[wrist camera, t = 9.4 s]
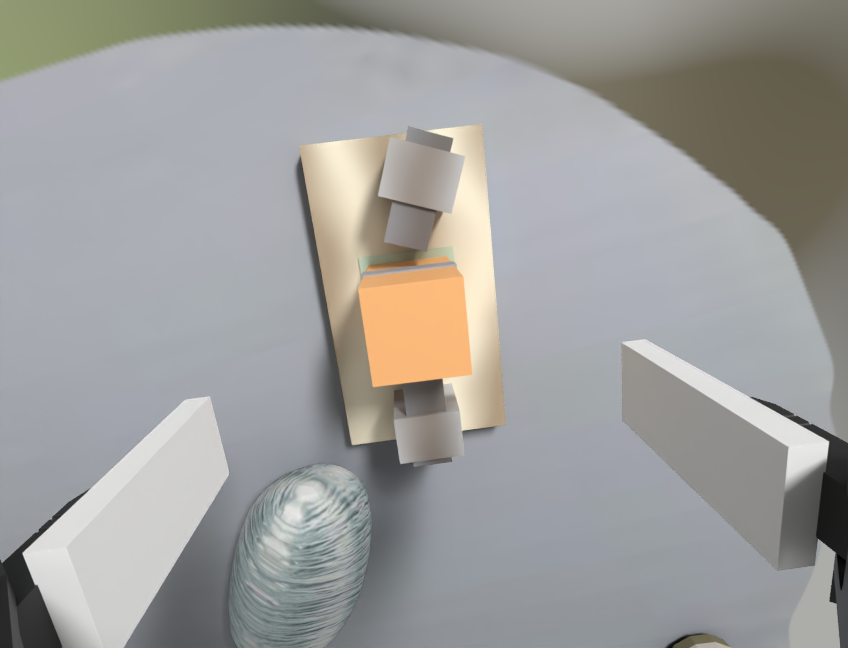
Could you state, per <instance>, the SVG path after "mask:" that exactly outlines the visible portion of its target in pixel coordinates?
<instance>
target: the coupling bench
mask: <svg viewBox="0 0 848 648" xmlns="http://www.w3.org/2000/svg"><path fill="white" fill-rule="evenodd" d="M299 148H300V154H301V160H302V165H303V171H304V177H305V182H306V188H307V194H308V199H309V205H310V211H311V216H312V222H313V228H314V233H315V239H316V245H317V250H318V256H319V262H320V267H321V273H322V279H323V284H324V290H325V296H326V301H327V307H328V313H329V318H330V324H331V330H332V335H333V341H334V347H335V352H336V358H337V364H338V369H339V375H340V381H341V386H342V392H343V398H344V403H345V409H346V415H347V420H348V426H349V432H350V437H351V443H352V445H357V444H365V443H373V442H380V441H388V440H395V439H396V440H397V447H398V454H399V460H400V464H404V463H411V462H413V465H414V467H417V466H424V465H432V464H439V463H447V462H452V457H456V456H464V445H463V436H462V431H463V430H471V429H478V428H486V427H493V426H501V425H506V421H505V408H504V395H503V383H502V370H501V357H500V344H499V332H498V319H497V306H496V294H495V281H494V268H493V255H492V243H491V230H490V217H489V204H488V192H487V179H486V166H485V154H484V141H483V128H482V124H478V125H470V126H462V127H453V128H445V129H436V130H428V131H424V130H420V129H416V128H412V127H408V130H407V133H403V134H394V135H386V136H378V137H369V138H361V139H352V140H344V141H336V142H327V143H319V144H310V145H302V146H299ZM442 256H447V257H448V258H449V259H450V261H451V262H452V261H454V262H455V263H456V264H457V269H458V270H459V272H460V273H461V274H462V275H463V277H464V288H465V299H466V310H467V321H468V332H469V344H470V355H471V366H472V375H467V376H459V377H451V378H443V379H435V380H427V381H419V382H411V383H403V384H395V385H387V386H379V387H373V385H372V378H371V372H370V365H369V358H368V352H367V345H366V339H365V332H364V325H363V319H362V312H361V306H360V299H359V293H358V288H359V286H360V283H361V281H362V279H361V275H362V273H363V272H366V270H367V267H368V265H375V264H383V263H392V262H400V261H408V260H417V259H425V258H434V257H442Z"/></svg>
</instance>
